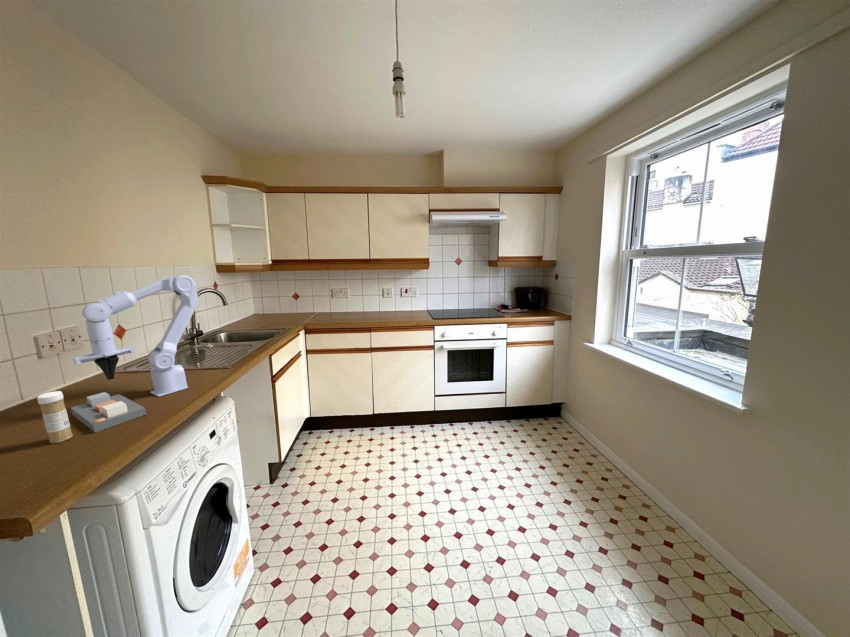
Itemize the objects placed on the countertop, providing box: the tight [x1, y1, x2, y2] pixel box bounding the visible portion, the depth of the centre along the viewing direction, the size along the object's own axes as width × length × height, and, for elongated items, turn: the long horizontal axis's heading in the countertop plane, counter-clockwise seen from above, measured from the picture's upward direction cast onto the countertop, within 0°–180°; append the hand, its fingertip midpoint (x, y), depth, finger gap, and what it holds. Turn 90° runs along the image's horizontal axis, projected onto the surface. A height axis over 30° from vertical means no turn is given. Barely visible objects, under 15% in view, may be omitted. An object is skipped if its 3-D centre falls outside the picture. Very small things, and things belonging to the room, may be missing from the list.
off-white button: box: [102, 401, 128, 418], centre depth 101 cm, size 4×4×3 cm
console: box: [70, 393, 147, 433], centre depth 106 cm, size 12×23×3 cm, turn 58°
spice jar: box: [36, 390, 74, 444], centre depth 91 cm, size 5×5×14 cm
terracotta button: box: [95, 400, 117, 413], centre depth 106 cm, size 4×4×3 cm
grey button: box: [86, 391, 111, 408], centre depth 109 cm, size 4×4×3 cm
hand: (110, 378), depth 112 cm, fingers closed
